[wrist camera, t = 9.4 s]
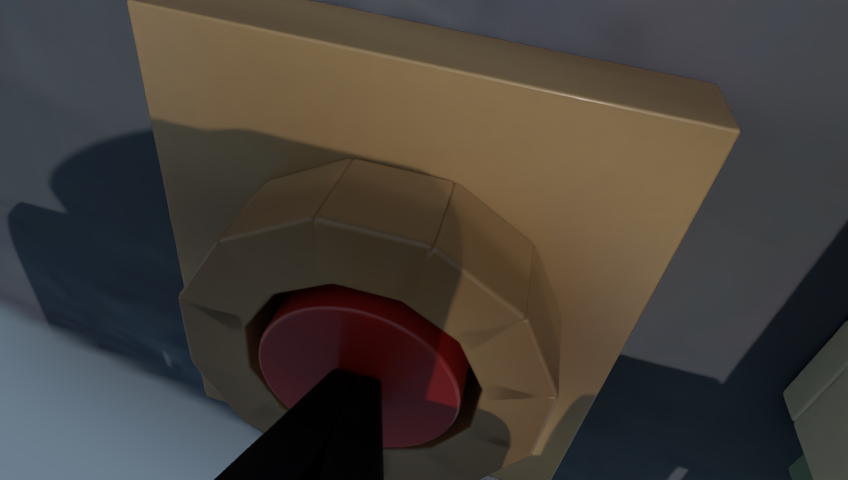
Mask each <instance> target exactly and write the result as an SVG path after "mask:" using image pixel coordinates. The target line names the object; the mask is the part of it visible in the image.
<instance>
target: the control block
mask: <svg viewBox="0 0 848 480" xmlns="http://www.w3.org/2000/svg"><path fill="white" fill-rule="evenodd" d="M127 5H128V10H129V15H130V20H131V25H132V30H133V35H134V40H135V45H136V50H137V54H138V59H139V64H140V69H141V74H142V79H143V84H144V89H145V94H146V99H147V104H148V109H149V114H150V119H151V124H152V129H153V134H154V139H155V144H156V149H157V154H158V159H159V164H160V169H161V174H162V179H163V184H164V189H165V194H166V199H167V204H168V209H169V214H170V219H171V224H172V229H173V234H174V239H175V244H176V248H177V253H178V258H179V263H180V268H181V273H182V278H183V283H184V288H183V289H182V291H181V292H180V294H179V304H180V309H181V313H182V318H183V323H184V327H185V332H186V337H187V341H188V346H189V351H190V355H191V360H192V361H193V364H194V365H195V366H196V367H197V369H198V370H199V371H200V372H201V373H202V378H203V383H204V388H205V393H206V396H207V397H209V398H213V399H216V400H220V401H224V402H227V403H228V404H229V406H230V407H231V408H232V409H233V410H234V411H235V413H236V414H237V415H238V416H239V417H240V418H241V419H243V421H245V422H246V423H248V424H249V425H251V426H253V427H254V428H256V429H258V430H259V431H261V432H263V433H265V432H266V431H267V430H268V429H269V428H270V427H271V426H272V425H273V424H274V423H275V422H276V421H277V420H279V419H280V418H281V417H282V416H283V415H284V414H285V413H286V412H287V411H288V410H289V408H288V407H287V406H286V405H285V404H284V403H283V402H282V401H281V400H280V399H279V398H278V397H277V396H276V394H275V393H274V392H273V391H272V389H271V388H270V386H269V385H268V383H267V381H266V379H265V378H264V376H263V373H262V370H261V367H260V362H259V345H260V340H261V337H262V335H263V333H264V331H265V329H266V328H267V326H268V324H269V323H270V321H271V319H272V318H273V316H274V315H275V313H276V311H277V310H278V308H279V306H280V305H281V303H282V301H283V300H284V298H285V297H286V295H287V293H288V292H289V291H294V290H300V289H306V288H311V287H317V286H322V285H328V284H336V285H340V286H343V287H347V288H351V289H355V290H359V291H363V292H367V293H371V294H375V295H379V296H383V297H387V298H391V299H394V300H398V301H402V302H403V303H405V304H406V305H408V306H409V307H410V308H412V309H413V310H415V311H416V312H417V313H419V314H420V315H422V316H423V317H424V318H426V319H427V320H429V321H430V322H431V323H433V324H434V325H435V326H437V327H438V328H440V329H441V330H442V331H444V332H445V333H447V334H448V335H449V336H451V337H452V338H454V339H455V340H456V341H458V342H459V343H460V346H461V348H462V350H463V352H464V354H465V356H466V358H467V360H468V362H469V367H468V372H467V377H466V382H465V387H464V392H463V397H462V402H461V407H460V411H459V413H458V416H457V418H456V419H455V421H454V422H453V424H452V425H451V426H450V427H449V428H448V429H447V430H446V431H445V432H444V433H443V434H441V435H440V436H438V437H437V438H435V439H433V440H430V441H428V442H425V443H422V444H419V445H413V446H407V447H383V459H384V480H479V479H481V478H483V477H485V476H490V477H494V478H497V479H501V480H551V479H552V477H553V476H554V474H555V472H556V470H557V468H558V466H559V465H560V463H561V461H562V459H563V457H564V455H565V454H566V452H567V450H568V448H569V446H570V444H571V443H572V441H573V439H574V437H575V435H576V433H577V432H578V430H579V428H580V426H581V424H582V422H583V421H584V419H585V417H586V415H587V413H588V411H589V410H590V408H591V406H592V404H593V402H594V400H595V399H596V397H597V395H598V393H599V391H600V389H601V388H602V386H603V384H604V382H605V380H606V378H607V377H608V375H609V373H610V371H611V369H612V367H613V366H614V364H615V362H616V360H617V358H618V356H619V355H620V353H621V351H622V349H623V347H624V345H625V344H626V342H627V340H628V338H629V336H630V334H631V333H632V331H633V329H634V327H635V325H636V323H637V322H638V320H639V318H640V316H641V314H642V312H643V310H644V309H645V307H646V305H647V303H648V301H649V299H650V298H651V296H652V294H653V292H654V290H655V288H656V287H657V285H658V283H659V281H660V279H661V277H662V276H663V274H664V272H665V270H666V268H667V266H668V265H669V263H670V261H671V259H672V257H673V255H674V254H675V252H676V250H677V248H678V246H679V244H680V243H681V241H682V239H683V237H684V235H685V233H686V232H687V230H688V228H689V226H690V224H691V222H692V221H693V219H694V217H695V215H696V213H697V211H698V210H699V208H700V206H701V204H702V202H703V200H704V199H705V197H706V195H707V193H708V191H709V189H710V188H711V186H712V184H713V182H714V180H715V178H716V177H717V175H718V173H719V171H720V169H721V167H722V166H723V164H724V162H725V160H726V158H727V156H728V155H729V153H730V151H731V149H732V147H733V145H734V144H735V142H736V140H737V138H738V136H739V134H740V132H741V130H740V128H739V126H738V124H737V122H736V120H735V118H734V116H733V114H732V112H731V110H730V108H729V106H728V104H727V102H726V100H725V98H724V97H723V95H722V93H721V91H720V89H719V87H718V85H717V84H714V83H709V82H704V81H699V80H695V79H690V78H685V77H680V76H675V75H670V74H666V73H661V72H656V71H651V70H646V69H641V68H636V67H632V66H627V65H622V64H617V63H612V62H607V61H602V60H598V59H593V58H588V57H583V56H578V55H573V54H568V53H564V52H559V51H554V50H549V49H544V48H539V47H534V46H530V45H525V44H520V43H515V42H510V41H505V40H500V39H496V38H491V37H486V36H481V35H476V34H471V33H467V32H462V31H457V30H452V29H447V28H442V27H437V26H433V25H428V24H423V23H418V22H413V21H408V20H403V19H399V18H394V17H389V16H384V15H379V14H374V13H369V12H365V11H360V10H355V9H350V8H345V7H340V6H335V5H331V4H326V3H321V2H316V1H311V0H128V1H127Z"/></svg>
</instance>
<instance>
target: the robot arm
mask: <svg viewBox="0 0 848 480" xmlns="http://www.w3.org/2000/svg"><path fill="white" fill-rule="evenodd" d="M214 480H384V459H383V422H382V386H381V381H380V380H379V379H377V378H373V377H369V376H366V375H359V376H358V377H357V374H356V373H354V372H351V371H347V370H343V369H340V368H335V369H333V370H331V371H330V372H329V373H328V374H327V375H326V376H325V377H324V378H322V379H321V380H320V381H319V382H318V383H317V384H316V385H315V386H314V387H313V388H312V389H311V390H310V391H309V392H307V393H306V394H305V395H304V396H303V397H302V398H301V399H300V400H299V401H298V402H297V403H296V404H295V405H294V406H292V407H291V408H290V409H289V410H288V411H287V412H286V413H285V414H284V415H283V416H282V417H281V418H280V419H279V420H277V421H276V422H275V423H274V424H273V425H272V426H271V427H270V428H269V429H268V430H267V431H266V432H265V433H264V434H262V435H261V436H260V437H259V438H258V439H257V440H256V441H255V442H254V443H253V444H252V445H251V446H250V447H249V448H247V449H246V450H245V451H244V452H243V453H242V454H241V455H240V456H239V457H238V458H237V459H236V460H235V461H234V462H232V463H231V465H229V466H228V467H227V468H226V469H225V470H224V471H223V472H222V473H221V474H220V475H219V476H218V477H216V478H215V479H214Z"/></svg>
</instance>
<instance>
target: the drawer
mask: <svg viewBox="0 0 848 480" xmlns="http://www.w3.org/2000/svg"><path fill="white" fill-rule="evenodd" d="M789 472H790V475H791V478H792V480H813V478H812V476H811V473H810V470H809V467H808V464H807V461H806V459H805V456H804V454H803V455H802V456H801V457H800V458H799V459H798V460H797V461H796V462H795V463H793V464H792V465H791V466H790V467H789Z"/></svg>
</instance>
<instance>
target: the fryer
mask: <svg viewBox="0 0 848 480" xmlns="http://www.w3.org/2000/svg"><path fill="white" fill-rule="evenodd" d="M783 396H784V399H785V402H786V405H787V408H788V411H789V413H790V416H791V419H792V420H793V421H794V422H795V423H794V427H795V430H796V433H797V436H798V439H799V441H800V444H801V447H802V450H803V453H804V456H805V459H806V461H807V464H808V467H809V470H810V473H811V476H812V478H813V480H848V320H847V321H846V322H845V323H844V324H843V325H842V326H841V327H840V329H839V330H838V331H837V332H836V333H835V334H834V335H833V336H832V338H831V339H830V340H829V341H828V342H827V343H826V344H825V345H824V346H823V348H822V349H821V350H820V351H819V352H818V353H817V354H816V355H815V357H814V358H813V359H812V360H811V361H810V362H809V363H808V364H807V366H806V367H805V368H804V369H803V370H802V371H801V372H800V373H799V374H798V376H797V377H796V378H795V379H794V380H793V381H792V382H791V383H790V385H789V386H788V387H787V388H786V389H785V390H784V392H783Z"/></svg>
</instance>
